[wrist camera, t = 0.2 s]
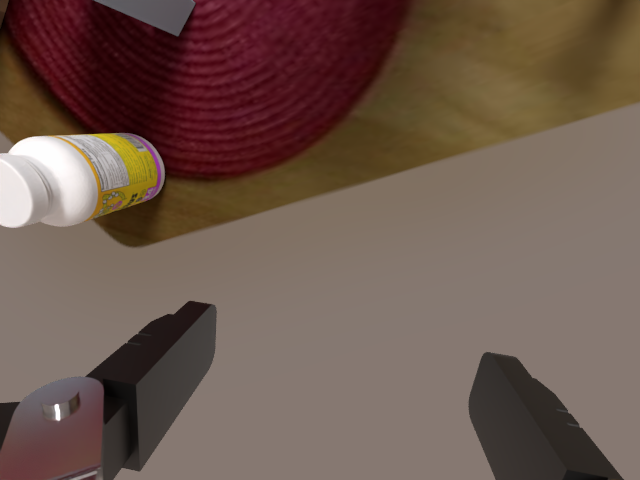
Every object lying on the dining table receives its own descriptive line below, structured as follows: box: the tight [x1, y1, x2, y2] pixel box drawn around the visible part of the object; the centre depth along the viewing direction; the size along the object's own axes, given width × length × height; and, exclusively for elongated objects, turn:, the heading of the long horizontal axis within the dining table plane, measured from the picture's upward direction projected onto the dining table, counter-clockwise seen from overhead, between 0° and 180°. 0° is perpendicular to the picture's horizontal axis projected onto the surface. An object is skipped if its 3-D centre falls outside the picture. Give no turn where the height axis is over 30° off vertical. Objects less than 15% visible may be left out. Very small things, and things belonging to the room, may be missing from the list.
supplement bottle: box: [0, 133, 165, 228], centre depth 26 cm, size 7×7×13 cm
